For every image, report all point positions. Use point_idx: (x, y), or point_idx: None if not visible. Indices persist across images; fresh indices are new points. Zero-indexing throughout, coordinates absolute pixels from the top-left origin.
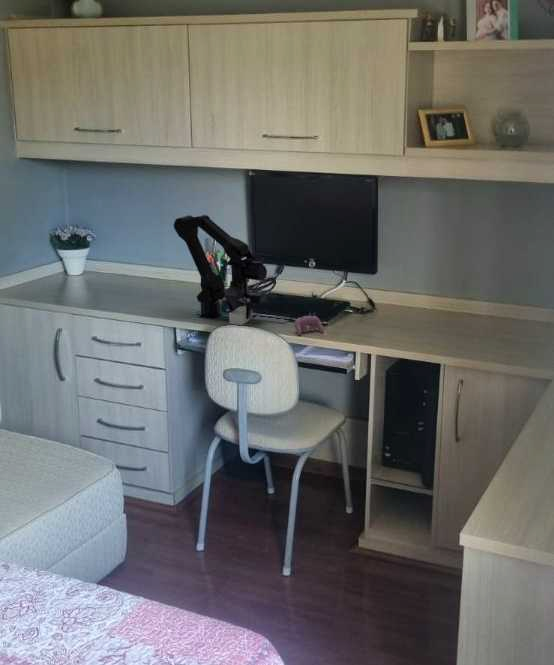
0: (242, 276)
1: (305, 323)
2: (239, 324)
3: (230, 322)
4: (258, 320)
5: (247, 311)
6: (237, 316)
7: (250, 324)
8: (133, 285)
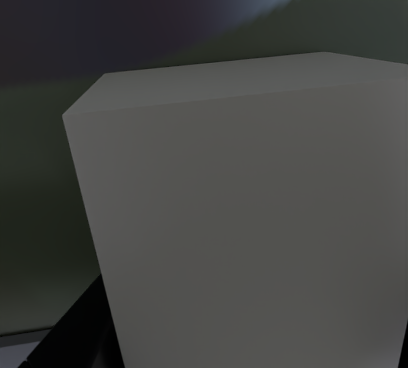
0: None
1: None
2: (146, 69)
3: (317, 56)
4: (31, 333)
5: (56, 356)
6: (191, 88)
7: (11, 170)
8: None
